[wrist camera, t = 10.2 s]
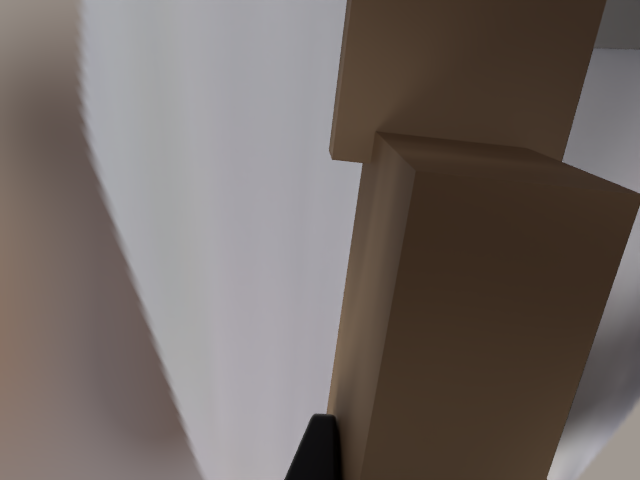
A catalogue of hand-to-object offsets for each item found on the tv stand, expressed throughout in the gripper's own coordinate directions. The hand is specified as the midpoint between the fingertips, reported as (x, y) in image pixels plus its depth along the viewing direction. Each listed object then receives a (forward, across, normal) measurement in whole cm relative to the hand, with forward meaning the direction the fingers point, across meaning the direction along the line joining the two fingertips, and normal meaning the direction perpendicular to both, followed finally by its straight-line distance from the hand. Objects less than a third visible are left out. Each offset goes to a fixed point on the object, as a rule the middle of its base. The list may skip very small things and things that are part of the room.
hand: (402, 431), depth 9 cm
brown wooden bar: (+1, 0, 0) cm, 1 cm away
